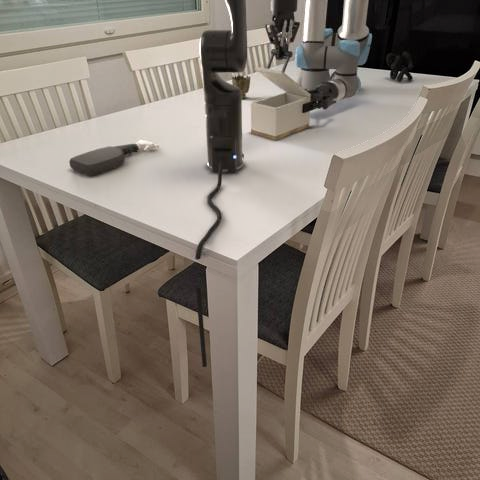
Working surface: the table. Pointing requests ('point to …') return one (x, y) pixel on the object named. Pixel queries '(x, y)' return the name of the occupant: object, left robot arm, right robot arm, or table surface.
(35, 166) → the table surface
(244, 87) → the mottled brown jagged dome
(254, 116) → the cream rectangular box
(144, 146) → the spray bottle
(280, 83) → the lid
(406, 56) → the squiggle
